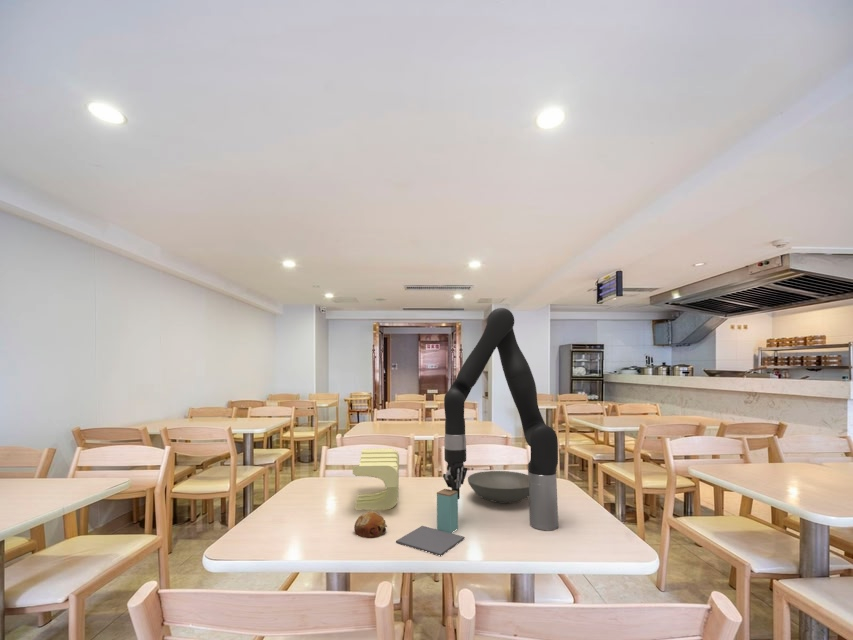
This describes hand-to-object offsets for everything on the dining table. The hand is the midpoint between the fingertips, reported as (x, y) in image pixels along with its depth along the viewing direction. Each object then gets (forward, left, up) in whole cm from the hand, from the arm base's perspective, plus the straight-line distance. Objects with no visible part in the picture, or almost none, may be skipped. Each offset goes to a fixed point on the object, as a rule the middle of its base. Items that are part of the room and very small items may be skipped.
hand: (455, 499), depth 139 cm
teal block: (+6, 0, -8) cm, 10 cm away
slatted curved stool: (-1, -36, -8) cm, 37 cm away
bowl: (-32, +3, -8) cm, 33 cm away
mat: (+16, 0, -8) cm, 18 cm away
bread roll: (+21, -20, -8) cm, 30 cm away
